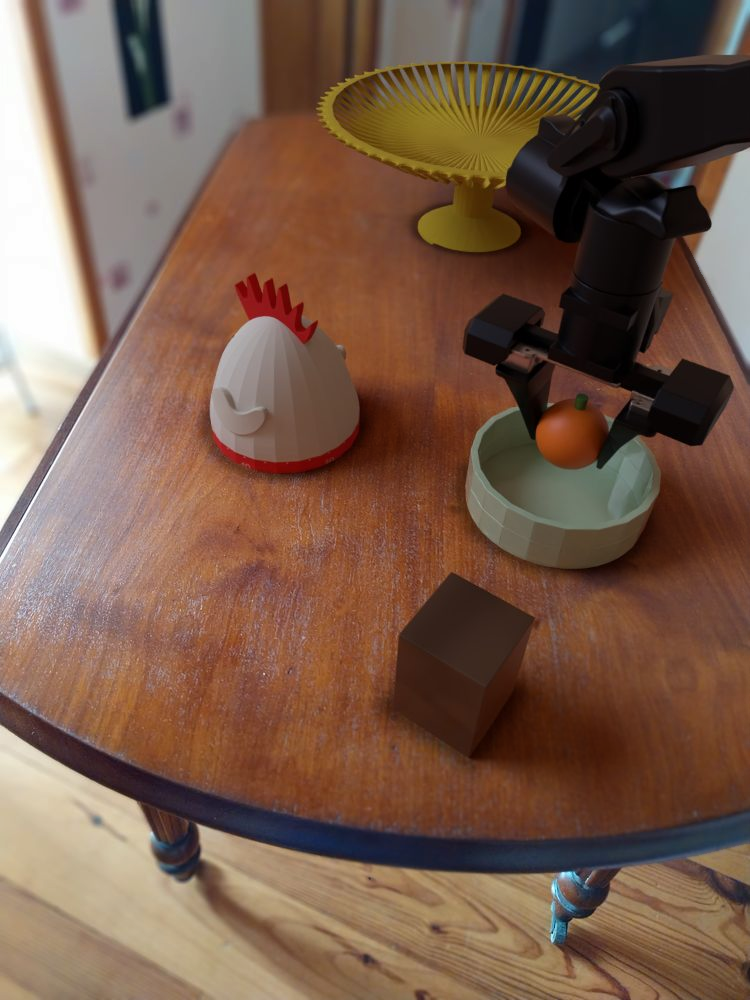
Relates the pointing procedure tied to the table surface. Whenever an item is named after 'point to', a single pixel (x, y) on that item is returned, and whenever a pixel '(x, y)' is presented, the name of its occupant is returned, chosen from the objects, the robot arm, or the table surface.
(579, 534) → the bowl
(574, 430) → the toy orange fruit
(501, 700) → the block
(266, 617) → the table surface
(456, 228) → the yellow pedestal fruit stand
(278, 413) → the white chicken figurine
